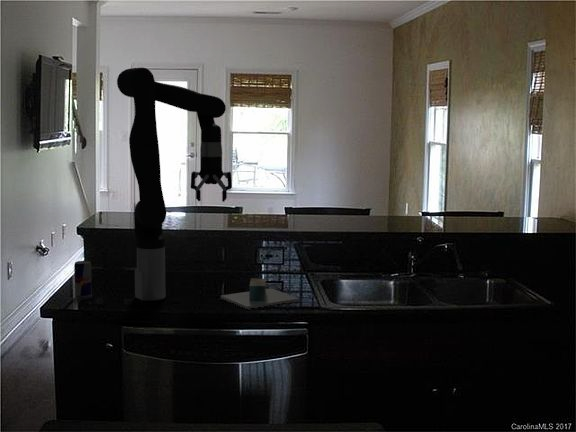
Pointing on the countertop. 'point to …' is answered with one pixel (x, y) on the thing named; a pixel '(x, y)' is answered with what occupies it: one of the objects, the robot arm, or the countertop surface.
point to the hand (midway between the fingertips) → (211, 201)
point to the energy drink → (83, 280)
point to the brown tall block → (257, 290)
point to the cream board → (270, 299)
